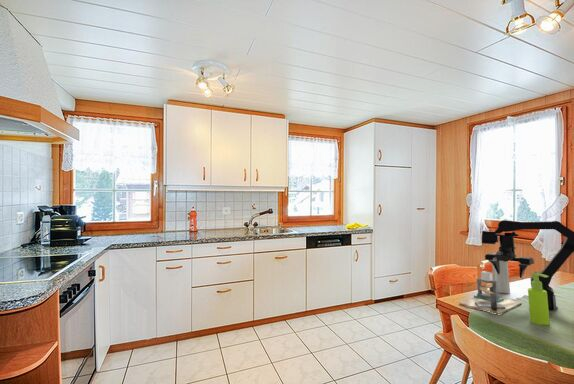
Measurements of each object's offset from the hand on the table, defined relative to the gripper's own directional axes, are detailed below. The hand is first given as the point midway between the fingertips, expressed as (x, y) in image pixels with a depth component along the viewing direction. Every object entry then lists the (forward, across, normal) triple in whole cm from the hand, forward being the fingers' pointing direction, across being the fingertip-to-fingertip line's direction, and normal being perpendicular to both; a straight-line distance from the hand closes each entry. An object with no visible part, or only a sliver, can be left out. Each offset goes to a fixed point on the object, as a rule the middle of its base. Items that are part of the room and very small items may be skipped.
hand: (509, 276), depth 138 cm
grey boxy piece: (+11, -8, -6) cm, 15 cm away
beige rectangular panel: (+13, -4, -12) cm, 18 cm away
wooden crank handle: (+12, -3, -12) cm, 17 cm away
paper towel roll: (+13, -10, +16) cm, 23 cm away
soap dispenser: (+13, +17, -19) cm, 29 cm away
